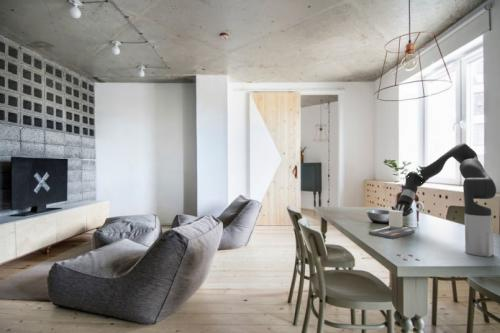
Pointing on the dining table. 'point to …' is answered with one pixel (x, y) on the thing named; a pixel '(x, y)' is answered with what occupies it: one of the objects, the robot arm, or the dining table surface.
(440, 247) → the dining table surface
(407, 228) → the grey tray
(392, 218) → the white upright block
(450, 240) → the dining table surface
